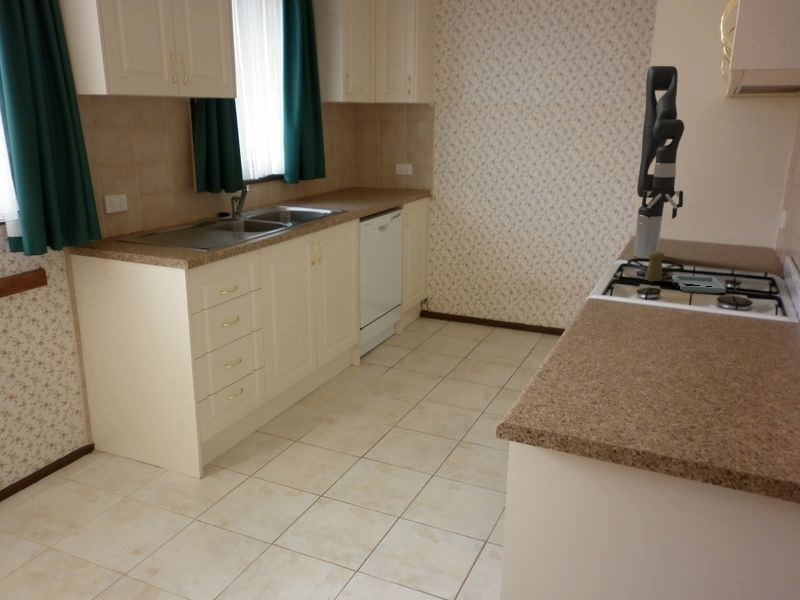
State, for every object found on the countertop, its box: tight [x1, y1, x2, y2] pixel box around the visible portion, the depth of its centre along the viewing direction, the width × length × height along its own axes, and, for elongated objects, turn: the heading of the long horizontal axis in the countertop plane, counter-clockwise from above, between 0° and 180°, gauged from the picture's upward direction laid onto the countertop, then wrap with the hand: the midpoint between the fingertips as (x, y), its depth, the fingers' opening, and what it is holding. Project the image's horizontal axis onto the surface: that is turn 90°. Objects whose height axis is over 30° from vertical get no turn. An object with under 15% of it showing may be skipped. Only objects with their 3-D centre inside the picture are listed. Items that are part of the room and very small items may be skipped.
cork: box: [644, 250, 665, 281], centre depth 232 cm, size 6×6×11 cm
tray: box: [671, 274, 727, 295], centre depth 227 cm, size 14×14×2 cm
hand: (660, 218), depth 249 cm, fingers open, 8 cm apart
